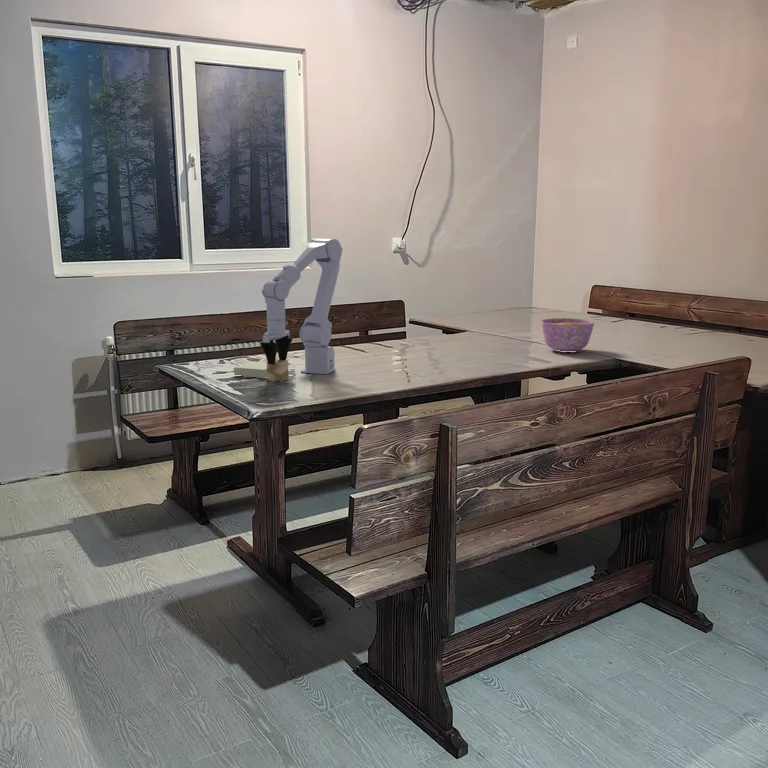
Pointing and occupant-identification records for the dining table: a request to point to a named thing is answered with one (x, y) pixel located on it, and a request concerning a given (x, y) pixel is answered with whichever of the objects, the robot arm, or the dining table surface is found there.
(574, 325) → the bowl of food
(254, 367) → the sage slab
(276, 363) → the maple block
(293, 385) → the dining table surface
